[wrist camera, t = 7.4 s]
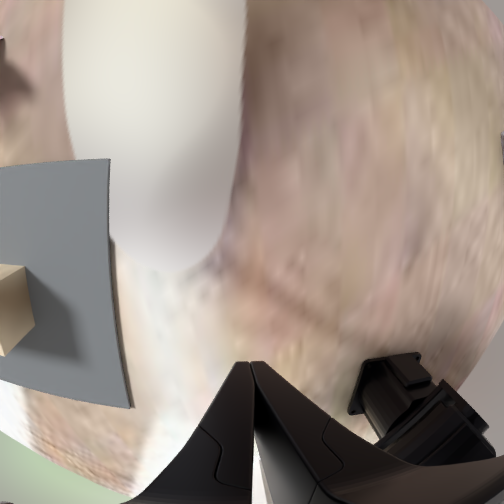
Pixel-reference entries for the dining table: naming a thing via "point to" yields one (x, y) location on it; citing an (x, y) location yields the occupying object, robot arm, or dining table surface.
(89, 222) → the rubber mat
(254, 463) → the light grey cube
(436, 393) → the robot arm
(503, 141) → the stone block
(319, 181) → the dining table surface
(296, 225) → the dining table surface
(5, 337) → the maple block
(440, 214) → the dining table surface
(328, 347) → the dining table surface
